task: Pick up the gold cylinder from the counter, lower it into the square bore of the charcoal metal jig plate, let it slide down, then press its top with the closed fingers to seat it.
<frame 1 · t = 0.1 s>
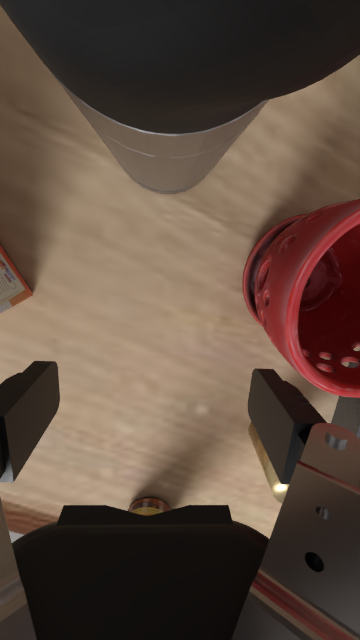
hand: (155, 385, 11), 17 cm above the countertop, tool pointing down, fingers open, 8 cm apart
plant pot: (298, 275, 28), on the countertop
sauce bottle: (147, 509, 38), on the countertop
gold cylinder: (266, 429, 34), on the countertop
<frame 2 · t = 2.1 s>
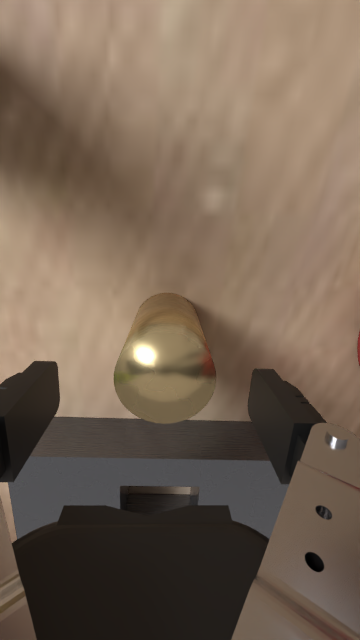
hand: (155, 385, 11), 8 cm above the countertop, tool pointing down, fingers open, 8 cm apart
jig: (160, 469, 23), on the countertop
gold cylinder: (167, 323, 20), on the countertop
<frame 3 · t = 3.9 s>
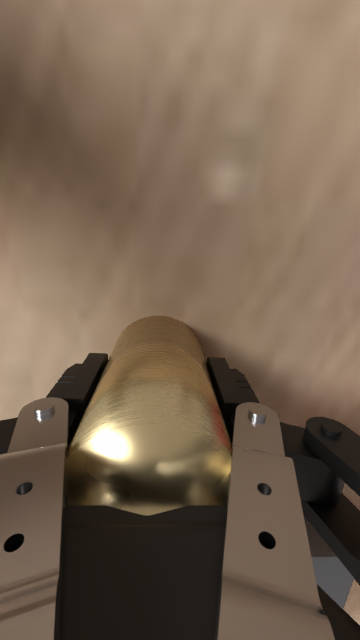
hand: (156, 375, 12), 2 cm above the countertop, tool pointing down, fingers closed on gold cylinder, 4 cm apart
jig: (150, 544, 18), on the countertop
gold cylinder: (158, 357, 14), on the countertop, touching gripper
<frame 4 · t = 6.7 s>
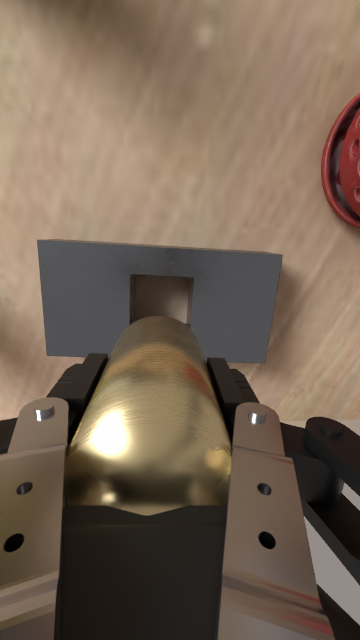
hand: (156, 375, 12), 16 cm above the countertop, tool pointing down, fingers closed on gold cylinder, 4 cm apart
jig: (161, 297, 28), on the countertop
gold cylinder: (158, 357, 14), point 15 cm above the countertop, touching gripper
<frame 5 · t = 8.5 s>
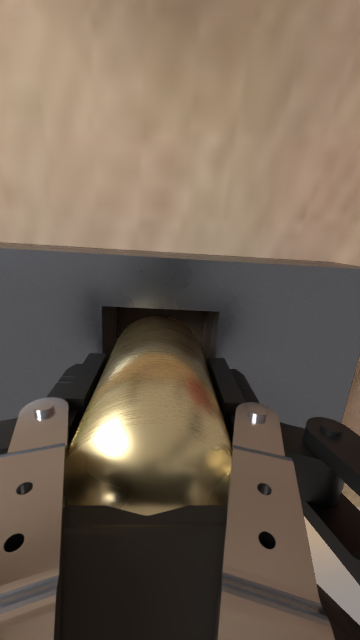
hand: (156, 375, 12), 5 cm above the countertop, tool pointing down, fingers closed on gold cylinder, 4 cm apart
jig: (160, 334, 17), on the countertop
gold cylinder: (158, 357, 14), point 4 cm above the countertop, touching gripper
when the fingers open (5 cm above the countertop, at t = 9.8 s): gold cylinder drops 3 cm, resting in jig.
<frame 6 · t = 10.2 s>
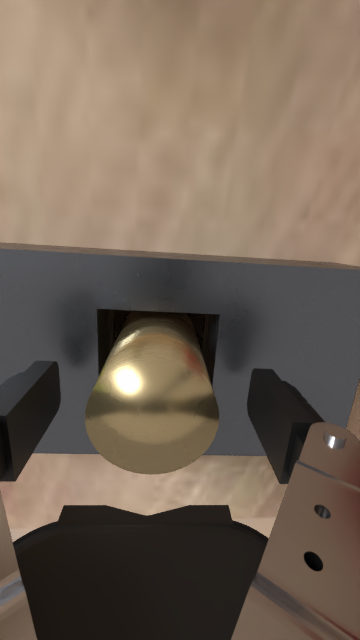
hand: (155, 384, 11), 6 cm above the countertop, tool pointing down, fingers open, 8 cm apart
jig: (158, 337, 17), on the countertop
gold cylinder: (158, 336, 17), resting in jig
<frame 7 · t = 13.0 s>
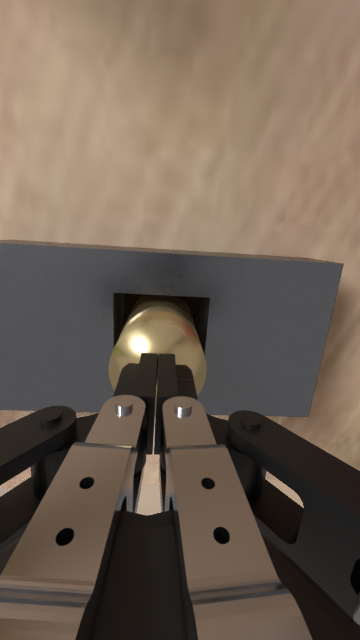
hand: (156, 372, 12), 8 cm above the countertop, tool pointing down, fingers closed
jig: (161, 320, 20), on the countertop
gold cylinder: (160, 319, 20), resting in jig, touching gripper
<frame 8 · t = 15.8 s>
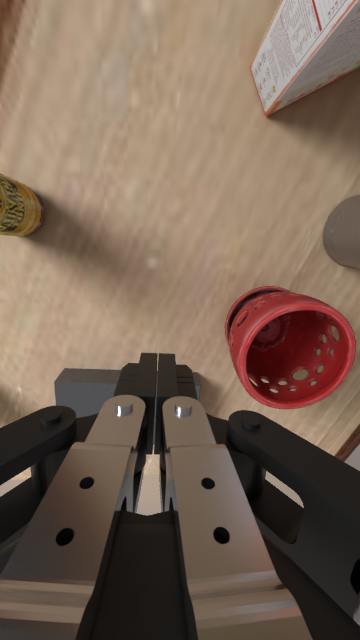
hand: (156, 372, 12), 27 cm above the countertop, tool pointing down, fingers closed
plant pot: (261, 325, 41), on the countertop
cracker box: (310, 63, 32), on the countertop
jig: (131, 399, 43), on the countertop
sauce bottle: (22, 208, 35), on the countertop
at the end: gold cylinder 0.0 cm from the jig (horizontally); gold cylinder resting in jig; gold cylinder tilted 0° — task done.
